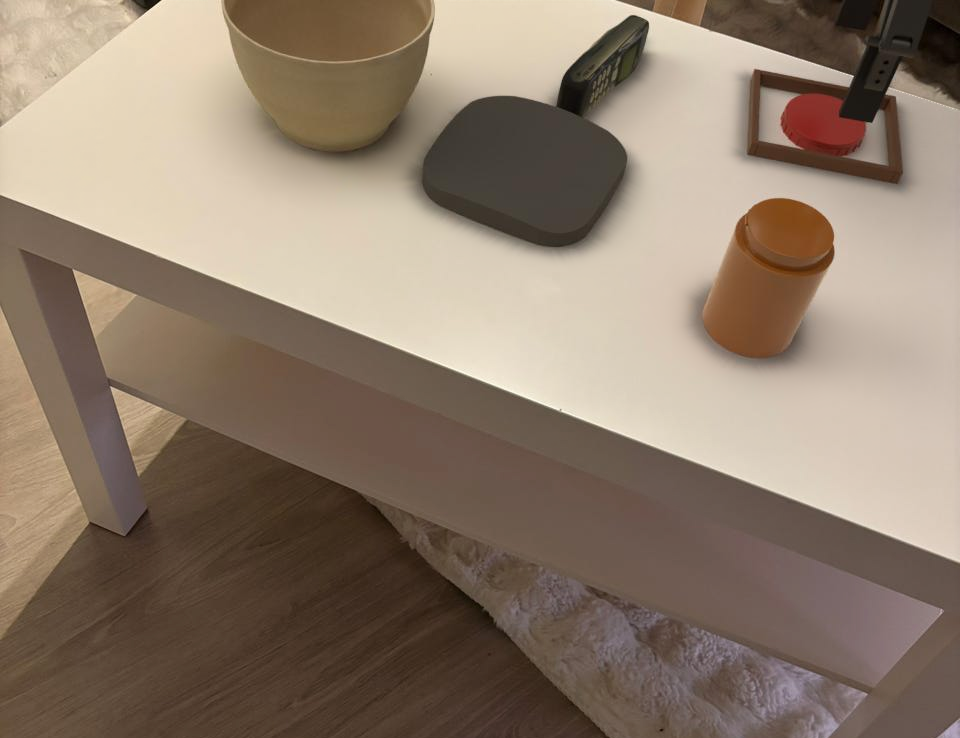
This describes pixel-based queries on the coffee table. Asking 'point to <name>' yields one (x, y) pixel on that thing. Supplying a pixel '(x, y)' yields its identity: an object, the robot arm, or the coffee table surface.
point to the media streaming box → (525, 169)
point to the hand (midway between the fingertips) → (852, 70)
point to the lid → (821, 125)
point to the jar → (768, 277)
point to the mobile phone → (603, 66)
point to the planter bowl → (331, 64)
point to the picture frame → (817, 158)
